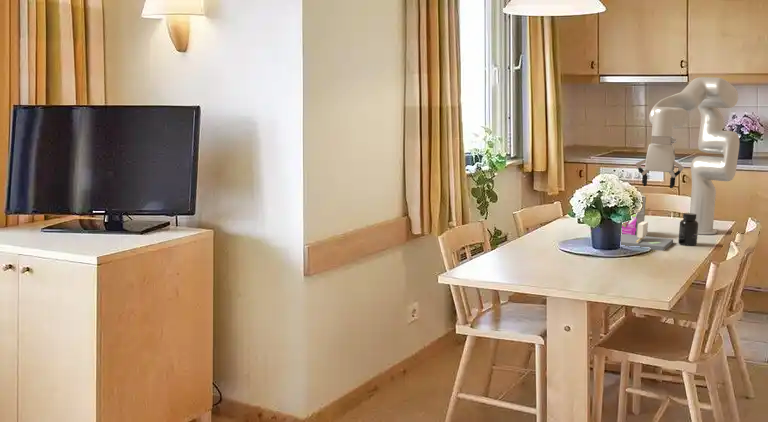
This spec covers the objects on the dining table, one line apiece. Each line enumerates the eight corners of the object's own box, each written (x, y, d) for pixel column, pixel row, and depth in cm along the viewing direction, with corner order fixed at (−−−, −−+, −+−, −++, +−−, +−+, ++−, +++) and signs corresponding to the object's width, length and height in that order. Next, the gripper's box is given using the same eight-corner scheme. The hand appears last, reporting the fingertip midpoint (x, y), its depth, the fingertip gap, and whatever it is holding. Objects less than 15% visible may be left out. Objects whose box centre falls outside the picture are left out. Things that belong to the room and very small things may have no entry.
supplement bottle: (698, 246, 341) (700, 215, 339) (679, 245, 342) (681, 214, 340) (695, 243, 347) (697, 212, 346) (677, 242, 349) (679, 211, 347)
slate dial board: (621, 237, 356) (621, 233, 356) (673, 242, 347) (673, 238, 347) (609, 244, 341) (609, 240, 341) (663, 250, 331) (663, 246, 331)
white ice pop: (641, 237, 347) (642, 221, 347) (646, 237, 347) (648, 221, 346) (634, 242, 337) (635, 226, 336) (639, 242, 336) (640, 226, 335)
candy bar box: (614, 232, 366) (616, 193, 363) (622, 231, 369) (624, 192, 366) (635, 237, 357) (638, 196, 354) (643, 236, 360) (646, 196, 357)
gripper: (687, 142, 333) (683, 187, 335) (640, 139, 341) (636, 184, 343) (684, 143, 326) (680, 189, 329) (635, 140, 334) (632, 185, 336)
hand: (658, 186), depth 336 cm, fingers open, 9 cm apart
